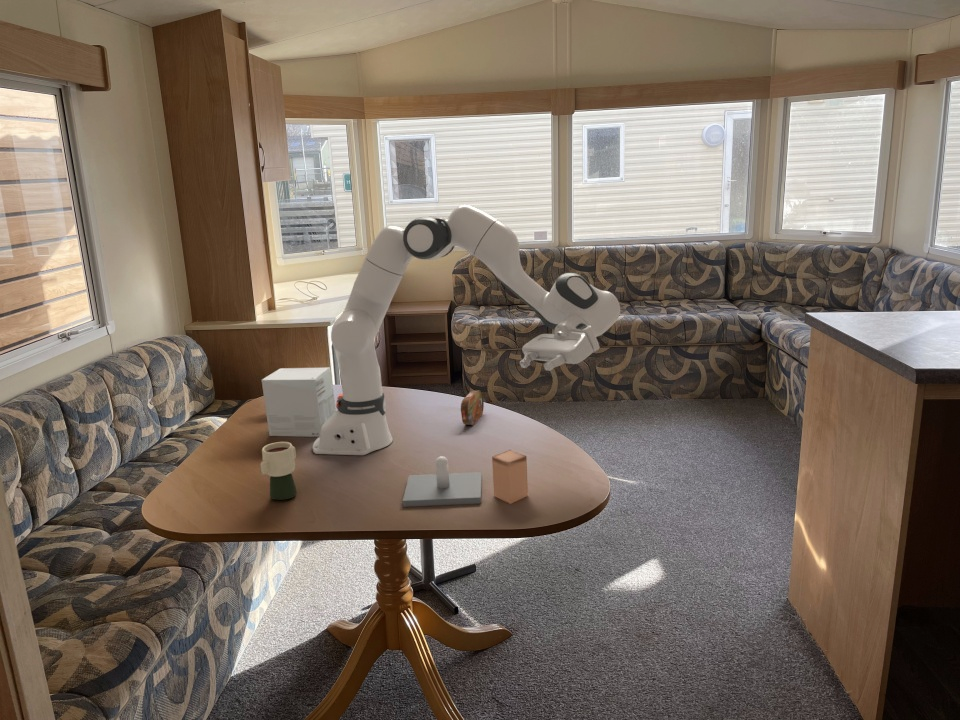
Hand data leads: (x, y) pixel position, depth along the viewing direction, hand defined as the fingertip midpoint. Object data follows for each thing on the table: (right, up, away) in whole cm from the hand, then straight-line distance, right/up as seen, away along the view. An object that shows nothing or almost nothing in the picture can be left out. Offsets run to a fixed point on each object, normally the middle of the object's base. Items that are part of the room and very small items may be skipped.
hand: (533, 366), depth 169 cm
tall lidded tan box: (-6, -30, -5) cm, 31 cm away
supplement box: (-67, -20, +47) cm, 84 cm away
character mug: (-61, -32, +1) cm, 68 cm away
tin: (-15, -17, +47) cm, 52 cm away
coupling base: (-22, -30, -1) cm, 37 cm away
